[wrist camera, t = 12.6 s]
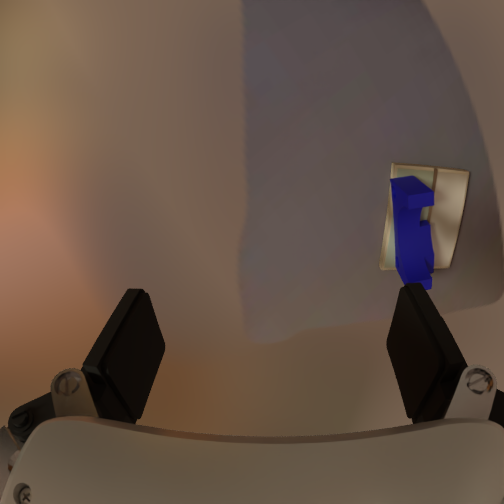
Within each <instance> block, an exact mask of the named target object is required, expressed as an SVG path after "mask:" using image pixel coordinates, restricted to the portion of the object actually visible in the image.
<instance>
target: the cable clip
mask: <svg viewBox="0 0 504 504" xmlns="http://www.w3.org/2000/svg"><path fill="white" fill-rule="evenodd" d="M390 182H391V193H392V204H393V218H394V236H395V267H396V269H397V271H398V273H399V275H400V277H401V279H402V281H403V283H404V285H405V284H406V283H416V282H420V283H421V284H422V285H423V287H424V288H425V290H428V289H431V287H432V277H431V275H430V273H433V272H434V250H433V245H432V239H431V225H430V224H429V223H428V221H427V220H422V221H420V216H421V211H422V208H423V207H428V206H434V191H433V190H431V189H430V188H429V187H428V186H426V185H425V184H424V183H422V182H421V181H420V180H419V179H417V178H416V177H415V176H413V175H412V176H405V177H398V178H391V179H390Z"/></svg>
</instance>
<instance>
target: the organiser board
mask: <svg viewBox="0 0 504 504" xmlns="http://www.w3.org/2000/svg"><path fill="white" fill-rule="evenodd" d="M412 175H413V176H415V177H416V178H417V179H419V180H420V181H421V182H422V183H424V184H425V185H426V186H428V187H429V188H430V189H431V190H433V191H434V206H428V207H423V208H422V211H421V216H420V221H422V220H427V221H428V223H429V224H430V225H431V239H432V245H433V250H434V268H449V266H450V263H451V259H452V256H453V252H454V248H455V244H456V240H457V236H458V231H459V227H460V222H461V218H462V213H463V208H464V202H465V197H466V191H467V185H468V178H469V172H468V171H466V170H464V169H456V168H448V167H439V166H429V165H418V164H407V163H393V162H392V168H391V178H398V177H405V176H412ZM379 266H380V268H381V270H397V269H396V267H395V236H394V218H393V204H392V193H391V182H390V190H389V199H388V208H387V216H386V223H385V230H384V237H383V244H382V250H381V256H380V262H379Z"/></svg>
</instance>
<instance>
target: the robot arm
mask: <svg viewBox="0 0 504 504" xmlns="http://www.w3.org/2000/svg"><path fill="white" fill-rule="evenodd" d="M387 350H388V353H389V356H390V359H391V362H392V366H393V368H394V372H395V375H396V379H397V382H398V385H399V389H400V392H401V396H402V399H403V403H404V406H405V410H406V414H407V417H408V418H412V422H413V424H411V425H405V426H399V427H393V428H385V429H379V430H371V431H363V432H353V433H343V434H331V435H317V436H316V435H315V436H289V437H257V436H232V435H216V434H203V433H194V432H184V431H176V430H168V429H162V428H155V427H149V426H142V425H136V424H135V423H136V421H137V419H140V418H141V416H142V414H143V411H144V408H145V405H146V402H147V399H148V396H149V393H150V390H151V388H152V385H153V382H154V379H155V376H156V374H157V371H158V368H159V365H160V363H161V360H162V357H163V354H164V352H165V342H164V339H163V336H162V333H161V330H160V328H159V325H158V322H157V319H156V316H155V312H154V309H153V306H152V303H151V300H150V296H149V294H148V293H145V291H144V290H143V289H128V290H127V291H126V293H125V294H124V296H123V297H122V299H121V301H120V302H119V304H118V305H117V307H116V309H115V310H114V312H113V313H112V315H111V317H110V318H109V320H108V322H107V324H106V325H105V327H104V328H103V330H102V332H101V333H100V335H99V337H98V338H97V340H96V342H95V344H94V345H93V347H92V349H91V351H90V352H89V354H88V356H87V358H86V359H85V361H84V363H83V367H82V368H81V370H79V369H75V368H69V369H65V370H63V371H61V372H59V373H58V374H57V375H56V376H55V377H54V379H53V380H52V383H51V392H49V393H47V394H45V395H43V396H41V397H39V398H37V399H35V400H32V401H30V402H28V403H26V404H24V405H22V406H20V407H18V408H16V409H15V410H14V411H13V412H12V413H11V415H10V417H9V421H8V427H5V426H3V427H2V428H1V429H0V504H504V392H502V391H500V390H498V389H497V381H496V377H495V376H494V374H493V373H492V372H491V371H490V370H489V369H488V368H486V367H484V366H481V365H471V366H467V363H466V361H465V359H464V357H463V355H462V353H461V351H460V349H459V347H458V345H457V344H456V342H455V340H454V338H453V336H452V334H451V333H450V331H449V328H448V327H447V325H446V323H445V321H444V320H443V318H442V317H441V316H440V314H439V312H438V310H437V309H436V307H435V305H434V304H433V302H432V300H431V298H430V297H429V295H428V293H427V292H426V290H425V288H424V287H423V285H422V284H421V283H420V282H416V283H406V284H405V285H404V287H402V288H401V289H400V291H399V296H398V300H397V304H396V308H395V312H394V316H393V319H392V323H391V327H390V330H389V334H388V337H387Z"/></svg>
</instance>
